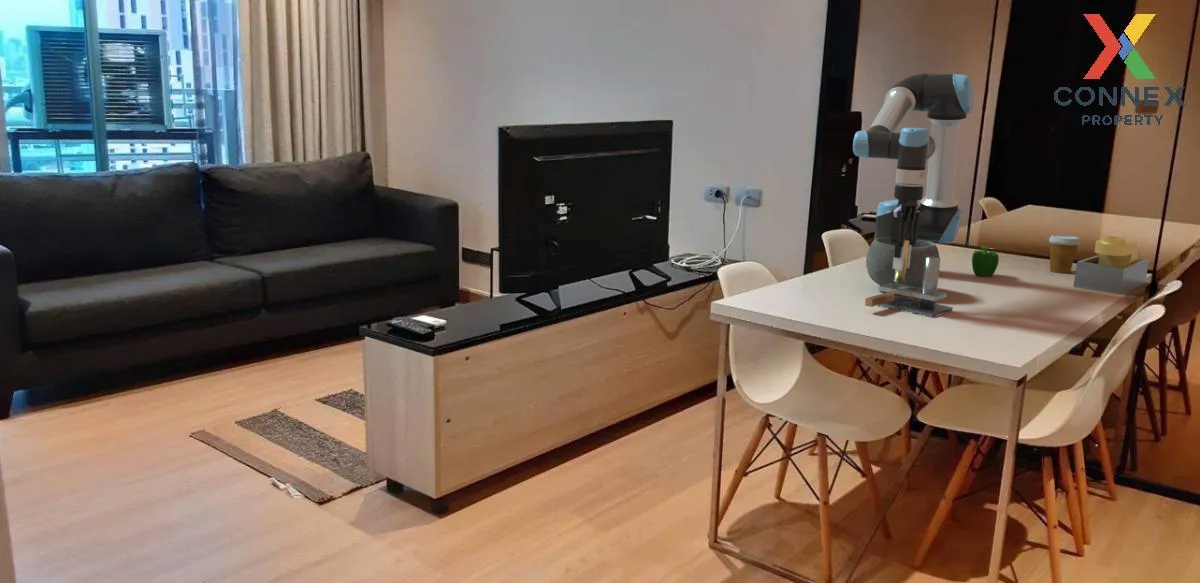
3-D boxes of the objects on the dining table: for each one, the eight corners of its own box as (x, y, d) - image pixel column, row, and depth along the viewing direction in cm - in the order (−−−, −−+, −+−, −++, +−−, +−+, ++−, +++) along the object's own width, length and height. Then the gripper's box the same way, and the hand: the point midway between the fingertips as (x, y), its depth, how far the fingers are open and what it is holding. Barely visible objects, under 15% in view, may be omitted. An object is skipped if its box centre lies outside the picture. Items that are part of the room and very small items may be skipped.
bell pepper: (984, 272, 313) (987, 243, 311) (1001, 277, 305) (1005, 247, 303) (963, 273, 310) (967, 243, 308) (980, 278, 303) (984, 248, 300)
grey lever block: (854, 310, 255) (859, 256, 252) (894, 298, 270) (900, 248, 267) (913, 323, 243) (919, 267, 240) (952, 310, 258) (958, 257, 255)
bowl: (860, 293, 276) (865, 244, 273) (866, 280, 295) (870, 233, 292) (935, 301, 269) (941, 250, 266) (936, 286, 288) (942, 239, 285)
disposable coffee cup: (1081, 272, 317) (1086, 238, 314) (1065, 275, 311) (1070, 240, 309) (1054, 267, 324) (1059, 233, 322) (1039, 270, 319) (1043, 235, 316)
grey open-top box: (1073, 286, 294) (1077, 261, 293) (1100, 276, 311) (1103, 253, 309) (1120, 294, 285) (1124, 268, 283) (1145, 284, 301) (1149, 259, 299)
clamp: (1116, 292, 288) (1124, 241, 285) (1084, 286, 295) (1092, 237, 291) (1137, 283, 302) (1145, 235, 298) (1106, 278, 308) (1114, 231, 305)
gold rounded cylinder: (891, 281, 262) (896, 239, 259) (897, 280, 264) (901, 238, 261) (901, 283, 260) (906, 241, 257) (906, 282, 262) (911, 240, 259)
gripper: (907, 187, 248) (898, 274, 253) (936, 184, 259) (927, 267, 264) (882, 185, 253) (874, 269, 258) (911, 181, 264) (902, 262, 269)
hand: (900, 268), depth 261 cm, fingers closed on gold rounded cylinder, 3 cm apart
